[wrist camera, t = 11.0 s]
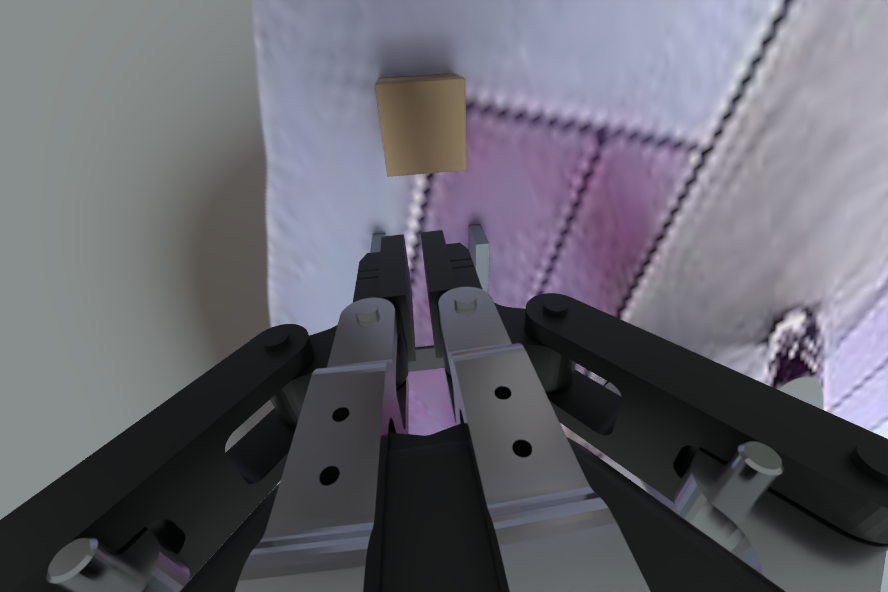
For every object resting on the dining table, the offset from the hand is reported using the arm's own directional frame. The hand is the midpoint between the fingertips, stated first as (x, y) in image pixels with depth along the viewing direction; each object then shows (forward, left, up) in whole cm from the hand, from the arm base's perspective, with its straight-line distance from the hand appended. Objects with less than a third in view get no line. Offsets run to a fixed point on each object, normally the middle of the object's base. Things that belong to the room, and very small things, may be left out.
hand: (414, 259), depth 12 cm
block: (-1, -2, -18) cm, 18 cm away
